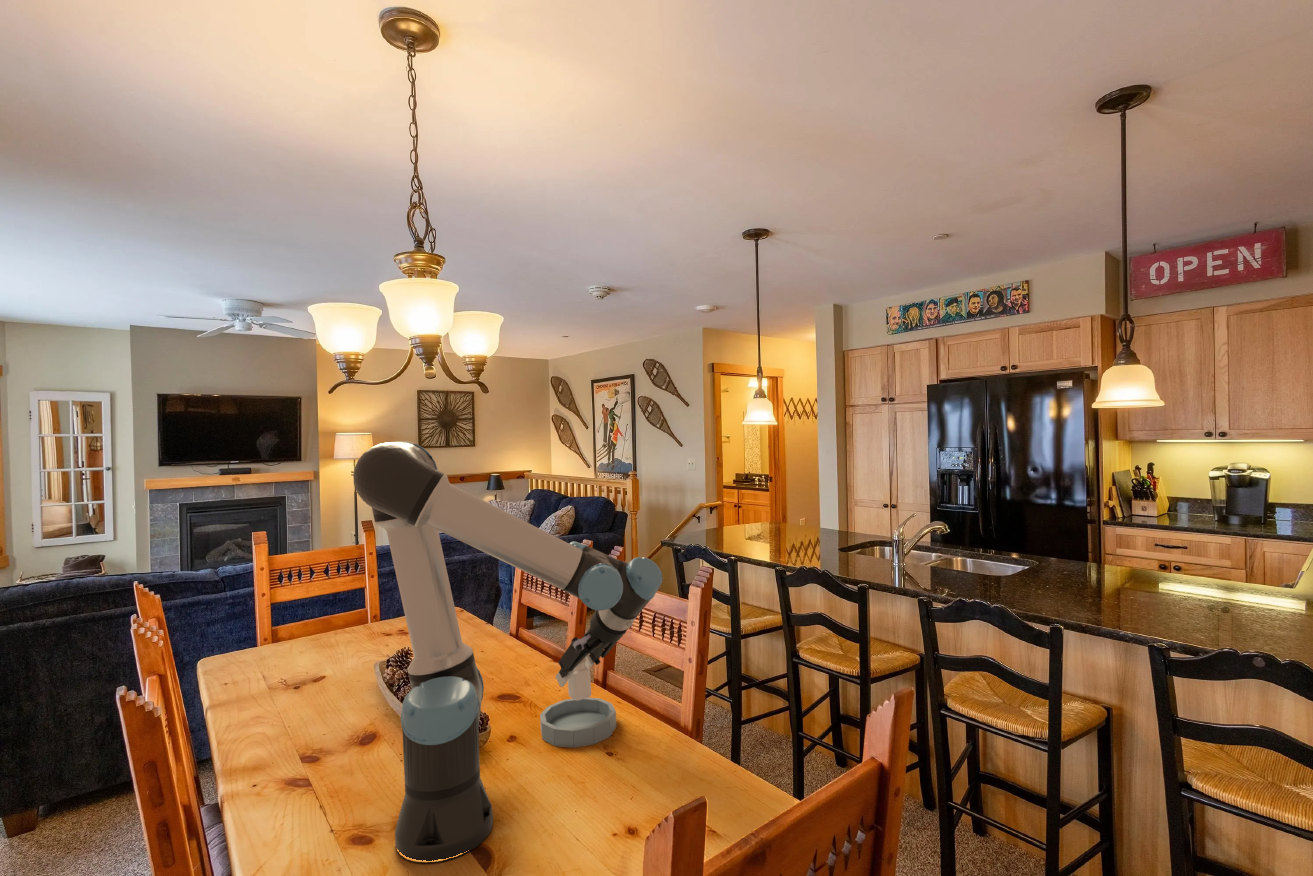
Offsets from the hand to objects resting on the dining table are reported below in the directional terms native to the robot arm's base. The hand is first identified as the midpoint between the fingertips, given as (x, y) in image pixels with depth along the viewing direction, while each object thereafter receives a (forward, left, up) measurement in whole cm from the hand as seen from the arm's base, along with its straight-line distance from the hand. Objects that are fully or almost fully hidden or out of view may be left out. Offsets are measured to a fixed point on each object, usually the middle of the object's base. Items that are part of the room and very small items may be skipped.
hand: (568, 677), depth 140 cm
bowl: (0, -3, -10) cm, 11 cm away
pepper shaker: (0, -4, -3) cm, 5 cm away
